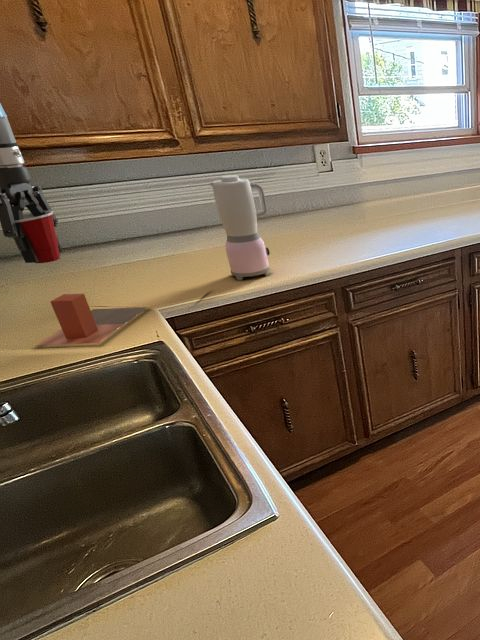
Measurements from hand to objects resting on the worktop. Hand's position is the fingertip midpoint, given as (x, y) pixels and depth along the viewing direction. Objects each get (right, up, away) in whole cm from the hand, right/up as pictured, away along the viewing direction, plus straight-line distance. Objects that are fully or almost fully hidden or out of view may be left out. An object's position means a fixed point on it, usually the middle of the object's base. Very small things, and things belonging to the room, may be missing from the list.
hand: (44, 256), depth 136 cm
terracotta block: (+13, -21, -4) cm, 25 cm away
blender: (+38, +2, +42) cm, 56 cm away
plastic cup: (0, -1, 0) cm, 1 cm away
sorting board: (+12, -19, +2) cm, 22 cm away
